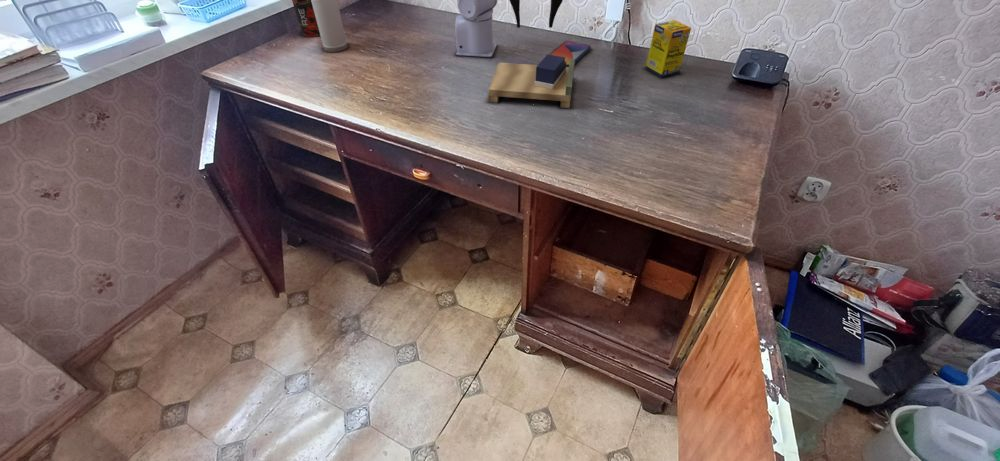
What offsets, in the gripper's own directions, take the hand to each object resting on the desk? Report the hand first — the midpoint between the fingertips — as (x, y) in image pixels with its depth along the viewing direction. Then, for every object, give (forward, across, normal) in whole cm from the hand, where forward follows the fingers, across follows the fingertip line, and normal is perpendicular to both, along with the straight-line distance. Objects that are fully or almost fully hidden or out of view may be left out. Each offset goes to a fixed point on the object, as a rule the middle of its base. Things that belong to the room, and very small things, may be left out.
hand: (534, 26), depth 112 cm
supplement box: (+10, -32, +4) cm, 33 cm away
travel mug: (+10, +53, -10) cm, 55 cm away
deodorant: (+10, +63, -20) cm, 67 cm away
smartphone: (+9, -9, -5) cm, 14 cm away
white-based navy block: (+6, -4, +14) cm, 16 cm away
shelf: (+9, 0, +14) cm, 17 cm away
